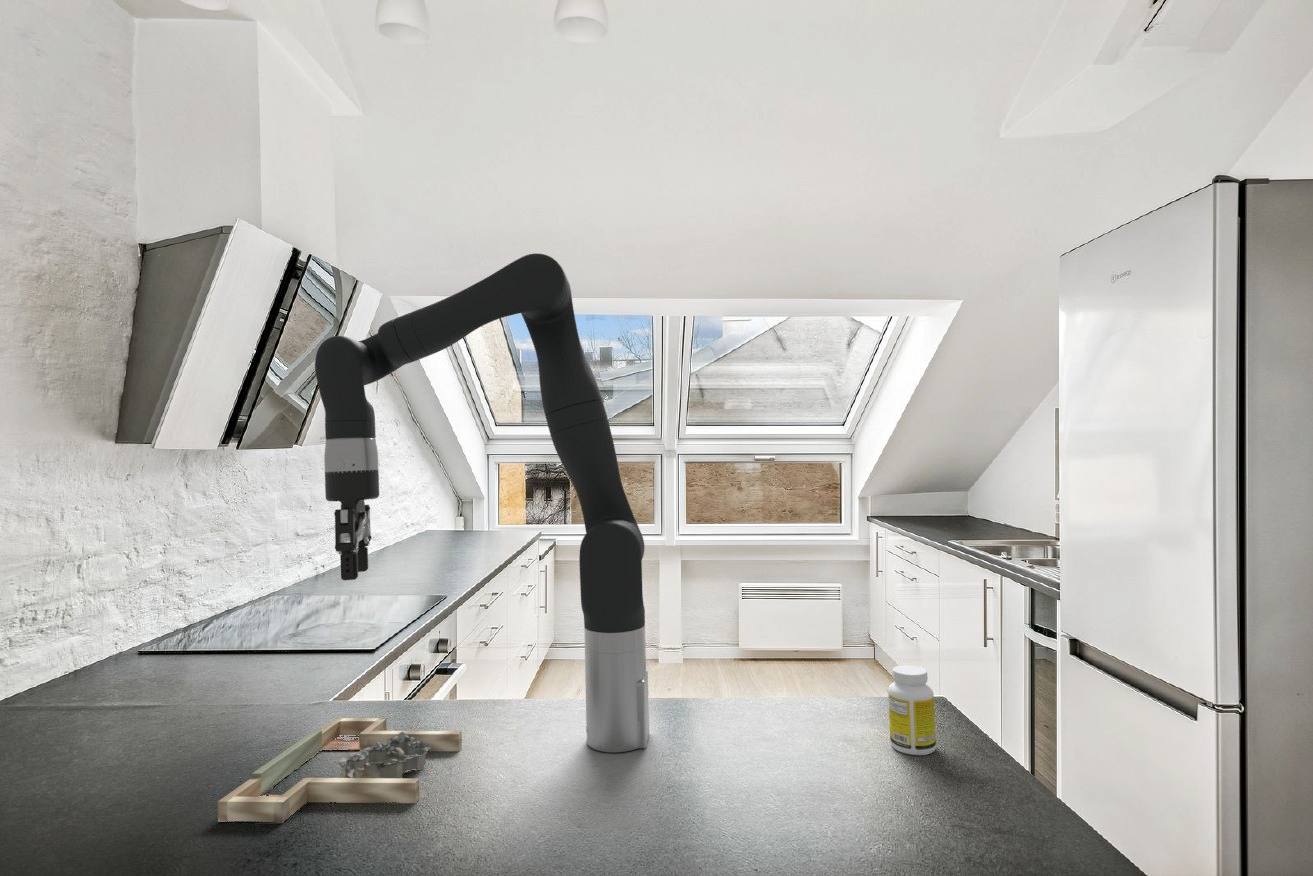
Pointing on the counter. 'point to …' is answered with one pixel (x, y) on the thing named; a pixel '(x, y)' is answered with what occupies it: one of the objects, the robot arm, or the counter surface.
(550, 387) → the robot arm
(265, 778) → the box
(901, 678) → the pill bottle
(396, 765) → the egg carton
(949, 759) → the counter surface
